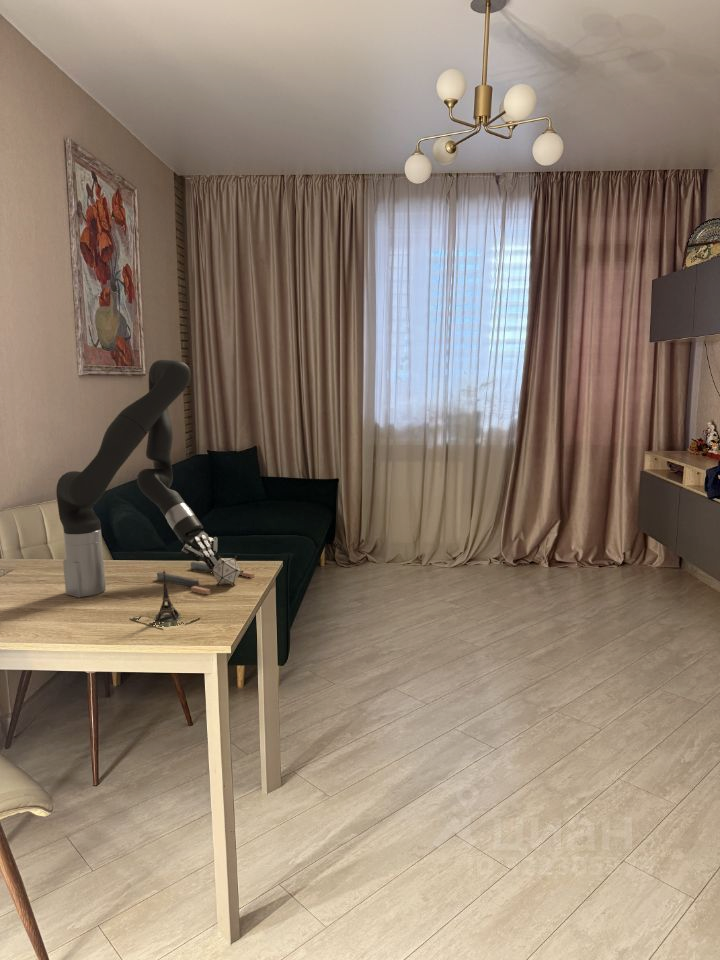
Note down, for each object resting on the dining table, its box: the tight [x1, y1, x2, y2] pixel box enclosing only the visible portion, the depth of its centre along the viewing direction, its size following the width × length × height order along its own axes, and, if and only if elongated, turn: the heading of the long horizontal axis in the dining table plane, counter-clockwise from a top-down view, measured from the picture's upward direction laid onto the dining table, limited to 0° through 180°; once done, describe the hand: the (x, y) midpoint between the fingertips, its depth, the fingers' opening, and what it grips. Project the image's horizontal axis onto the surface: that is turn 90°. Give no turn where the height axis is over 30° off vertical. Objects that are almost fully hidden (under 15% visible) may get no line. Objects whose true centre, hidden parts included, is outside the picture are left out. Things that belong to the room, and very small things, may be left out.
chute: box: [156, 561, 213, 588], centre depth 184 cm, size 14×16×2 cm
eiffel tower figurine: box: [130, 570, 199, 628], centre depth 151 cm, size 15×10×13 cm
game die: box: [210, 555, 245, 587], centre depth 177 cm, size 9×8×10 cm
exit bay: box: [190, 570, 255, 595], centre depth 177 cm, size 18×6×1 cm, turn 147°
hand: (216, 568), depth 179 cm, fingers closed
